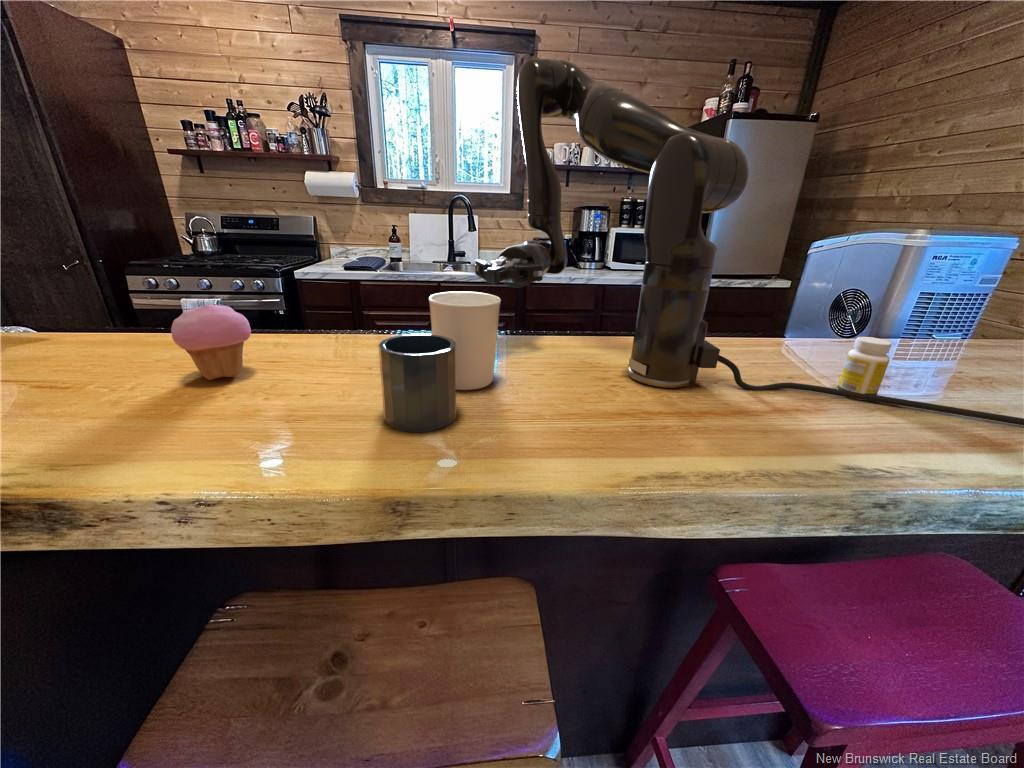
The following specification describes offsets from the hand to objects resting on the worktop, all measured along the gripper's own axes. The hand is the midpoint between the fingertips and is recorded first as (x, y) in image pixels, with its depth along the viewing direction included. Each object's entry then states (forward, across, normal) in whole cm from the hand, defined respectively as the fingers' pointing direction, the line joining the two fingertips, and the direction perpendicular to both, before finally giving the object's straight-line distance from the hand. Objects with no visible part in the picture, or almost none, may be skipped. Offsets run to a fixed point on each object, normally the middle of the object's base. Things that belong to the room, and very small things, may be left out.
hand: (490, 276), depth 68 cm
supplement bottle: (-8, +55, +14) cm, 58 cm away
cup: (+23, 0, +14) cm, 27 cm away
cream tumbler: (+10, 0, +14) cm, 17 cm away
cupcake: (+23, -31, +14) cm, 41 cm away
